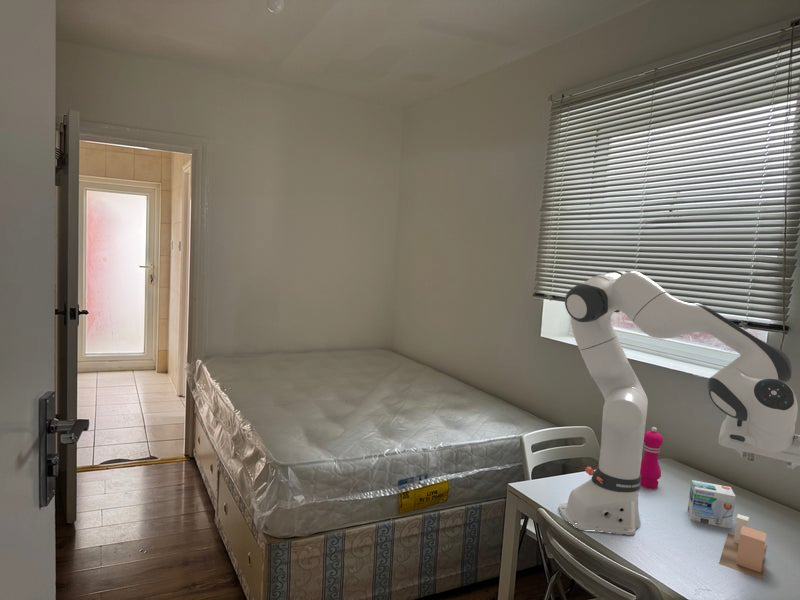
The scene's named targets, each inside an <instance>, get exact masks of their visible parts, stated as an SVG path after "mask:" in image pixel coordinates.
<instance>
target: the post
mask: <svg viewBox="0 0 800 600" xmlns="http://www.w3.org/2000/svg"><path fill="white" fill-rule="evenodd" d="M749 519H750V517H749V516H747V515H742V514H740V513H737V516H736V520H735V521H736V522H735V526H734V527H735V529H734V534H733V535H734V541H733V542H735V543H738V544H739V539H740V533H741V529H742V526H745V527H748V528H749V521H750V520H749Z"/></svg>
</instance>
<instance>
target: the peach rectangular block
mask: <svg viewBox="0 0 800 600" xmlns="http://www.w3.org/2000/svg"><path fill="white" fill-rule="evenodd" d="M767 534H768V533H766V532H764V531H761V530H756V529H754V528H751V527H749V526H748V527H745V526H742V529H741V533H740V539H739V546H738V553H737V560H736V564H738V565H741V566H743V567H746V568H749V569H752V570H755V571H758V572H761V568H762V562H763V555H764V548H765V545H766V540H767Z"/></svg>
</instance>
